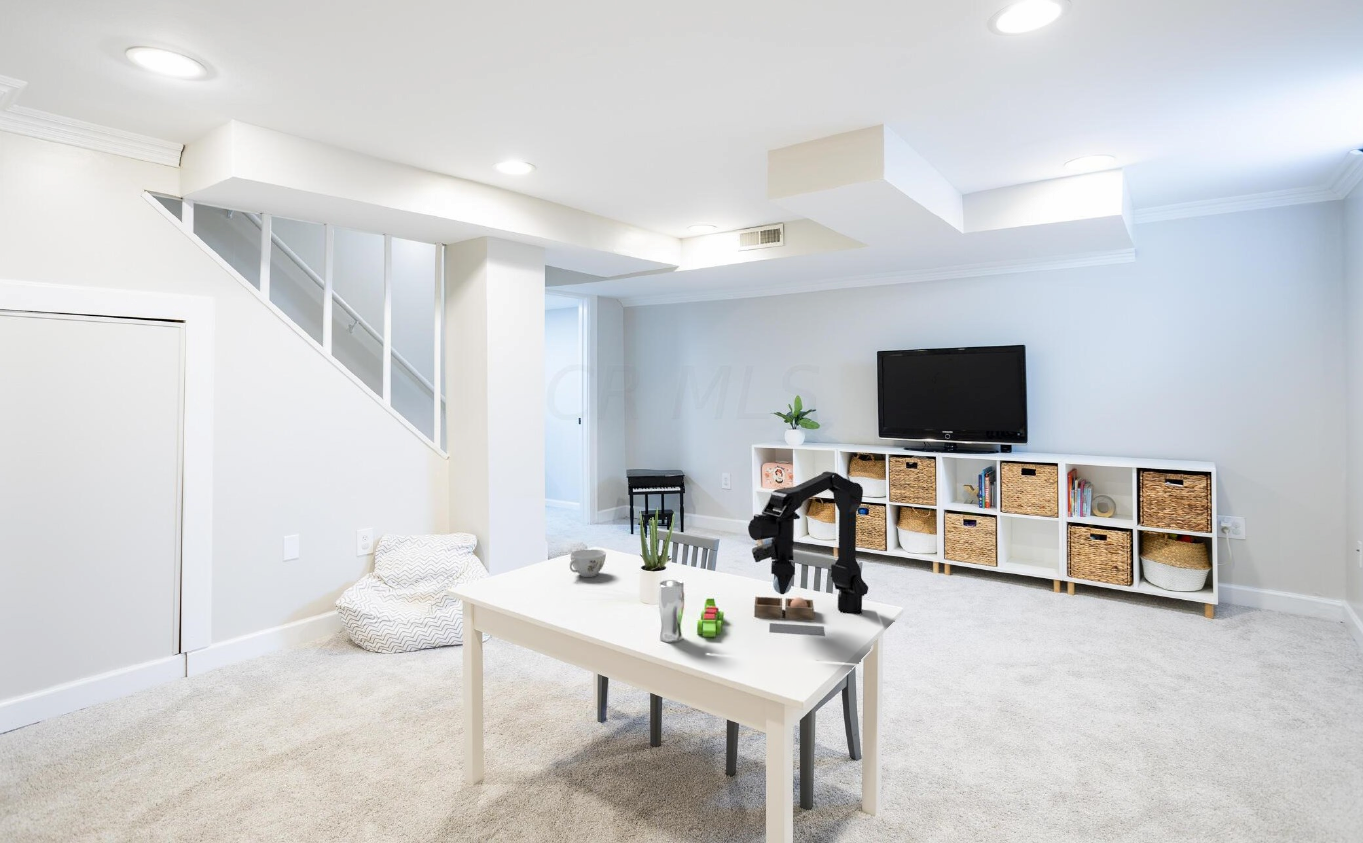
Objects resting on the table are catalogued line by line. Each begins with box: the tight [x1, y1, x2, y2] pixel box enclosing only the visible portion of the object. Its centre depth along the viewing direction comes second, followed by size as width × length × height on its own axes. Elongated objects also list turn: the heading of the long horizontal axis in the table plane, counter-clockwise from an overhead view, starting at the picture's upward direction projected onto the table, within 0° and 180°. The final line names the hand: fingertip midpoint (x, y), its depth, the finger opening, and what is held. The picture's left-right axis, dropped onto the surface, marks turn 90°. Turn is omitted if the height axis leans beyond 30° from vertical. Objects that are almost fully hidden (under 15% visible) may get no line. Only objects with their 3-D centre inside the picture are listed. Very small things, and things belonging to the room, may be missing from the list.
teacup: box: [569, 549, 607, 578], centre depth 236 cm, size 15×12×8 cm
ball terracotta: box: [790, 596, 808, 608], centre depth 197 cm, size 5×5×5 cm
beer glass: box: [658, 579, 686, 644], centre depth 179 cm, size 7×7×15 cm
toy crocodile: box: [696, 597, 725, 638], centre depth 187 cm, size 20×7×6 cm, turn 172°
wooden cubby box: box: [784, 597, 815, 621], centre depth 197 cm, size 8×8×4 cm
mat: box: [768, 622, 826, 637], centre depth 186 cm, size 15×7×1 cm, turn 82°
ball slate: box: [772, 576, 792, 594], centre depth 186 cm, size 5×5×5 cm
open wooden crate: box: [753, 596, 783, 619], centre depth 198 cm, size 8×8×4 cm
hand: (782, 591), depth 186 cm, fingers closed on ball slate, 5 cm apart
